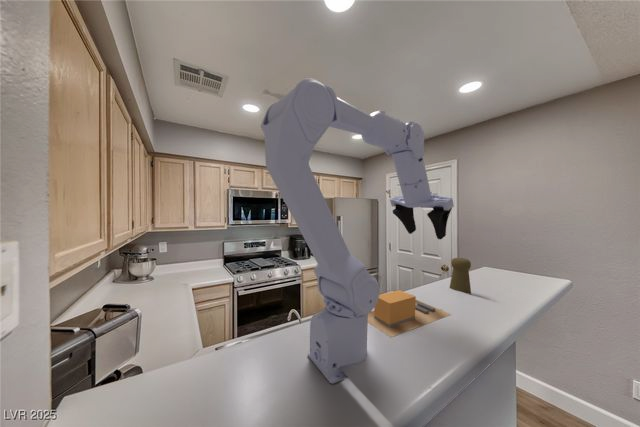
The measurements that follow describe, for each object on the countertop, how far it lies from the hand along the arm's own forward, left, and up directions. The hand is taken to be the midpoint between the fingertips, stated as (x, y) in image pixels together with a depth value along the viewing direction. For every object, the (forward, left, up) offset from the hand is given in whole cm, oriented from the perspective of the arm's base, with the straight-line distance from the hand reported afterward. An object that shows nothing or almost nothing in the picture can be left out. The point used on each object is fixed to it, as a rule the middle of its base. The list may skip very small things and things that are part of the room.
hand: (426, 234), depth 54 cm
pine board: (-5, +1, -20) cm, 21 cm away
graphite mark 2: (+3, +1, -19) cm, 19 cm away
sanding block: (-8, +1, -19) cm, 20 cm away
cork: (+25, +5, -20) cm, 33 cm away
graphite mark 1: (0, +1, -19) cm, 19 cm away
